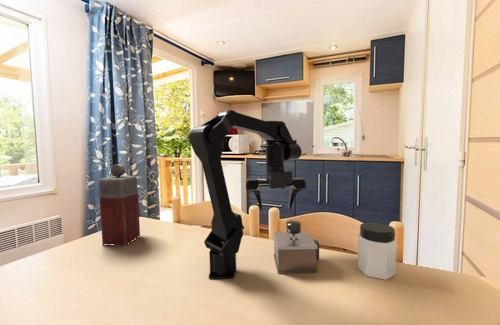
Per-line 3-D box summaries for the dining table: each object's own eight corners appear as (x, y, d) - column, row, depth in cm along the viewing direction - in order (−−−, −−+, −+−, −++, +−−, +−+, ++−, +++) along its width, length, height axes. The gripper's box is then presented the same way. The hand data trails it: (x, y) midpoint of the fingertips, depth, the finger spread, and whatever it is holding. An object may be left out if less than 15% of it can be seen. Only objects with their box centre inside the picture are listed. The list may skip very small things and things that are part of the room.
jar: (382, 283, 59) (383, 235, 58) (352, 269, 66) (352, 226, 65) (400, 272, 64) (402, 227, 63) (370, 260, 71) (371, 220, 70)
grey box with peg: (277, 273, 65) (277, 246, 64) (273, 255, 75) (273, 232, 74) (323, 272, 65) (323, 245, 64) (313, 254, 75) (313, 231, 74)
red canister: (143, 234, 95) (140, 162, 93) (125, 246, 84) (121, 165, 82) (122, 233, 96) (118, 162, 94) (102, 245, 85) (96, 165, 83)
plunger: (281, 267, 66) (281, 228, 65) (278, 254, 74) (277, 218, 73) (311, 267, 66) (311, 227, 65) (304, 253, 74) (304, 218, 73)
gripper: (245, 164, 69) (246, 218, 71) (310, 163, 70) (310, 216, 71) (245, 161, 81) (246, 207, 82) (302, 160, 81) (302, 206, 82)
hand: (275, 209), depth 79 cm, fingers open, 9 cm apart
